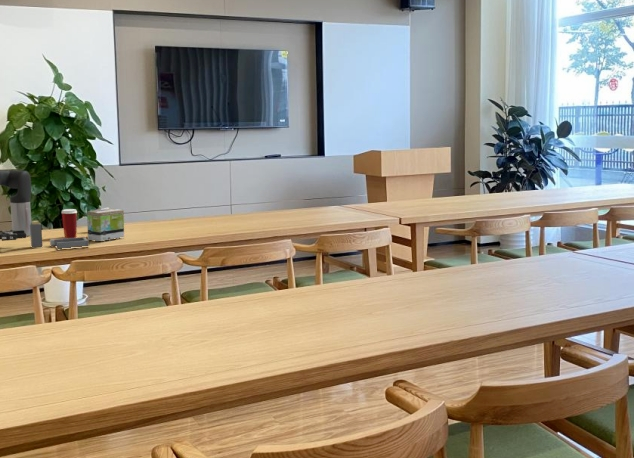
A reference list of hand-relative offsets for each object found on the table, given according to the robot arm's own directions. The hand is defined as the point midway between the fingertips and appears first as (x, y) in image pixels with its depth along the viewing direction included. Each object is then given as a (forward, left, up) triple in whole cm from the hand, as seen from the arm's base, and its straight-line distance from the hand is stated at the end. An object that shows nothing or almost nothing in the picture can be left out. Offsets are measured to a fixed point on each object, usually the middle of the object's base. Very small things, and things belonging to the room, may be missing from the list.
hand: (25, 234), depth 316 cm
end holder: (+8, +19, -7) cm, 21 cm away
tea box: (-6, +38, -7) cm, 39 cm away
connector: (0, +5, -7) cm, 8 cm away
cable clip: (+1, +13, -7) cm, 14 cm away
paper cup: (-20, +23, -7) cm, 31 cm away
